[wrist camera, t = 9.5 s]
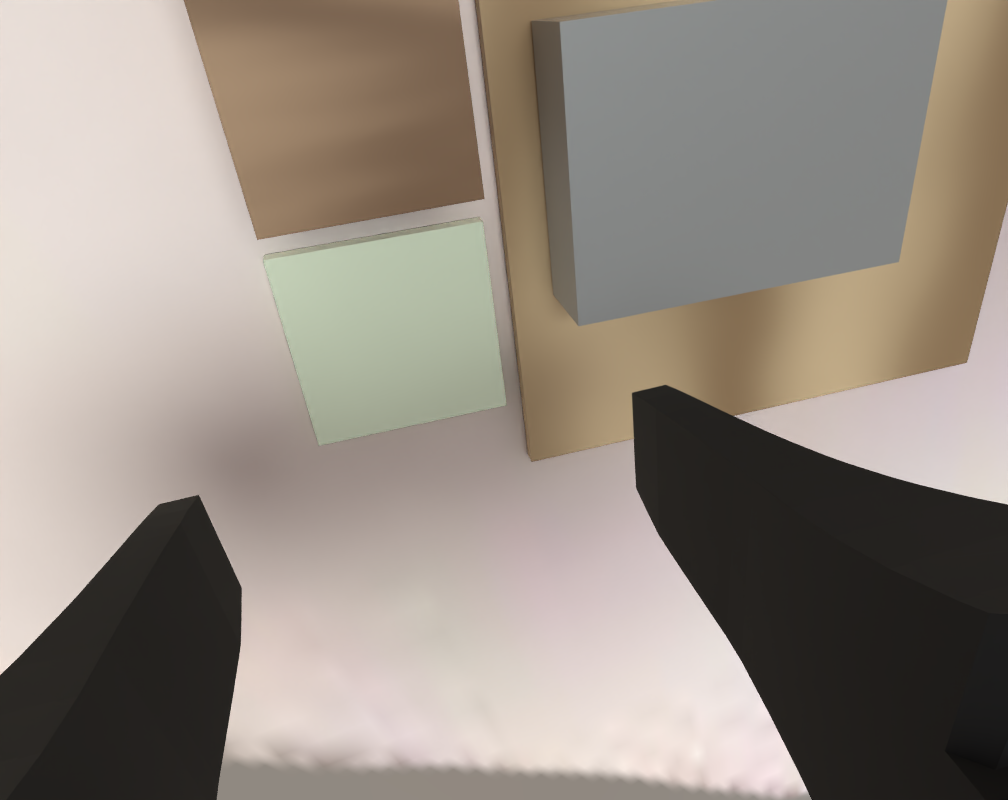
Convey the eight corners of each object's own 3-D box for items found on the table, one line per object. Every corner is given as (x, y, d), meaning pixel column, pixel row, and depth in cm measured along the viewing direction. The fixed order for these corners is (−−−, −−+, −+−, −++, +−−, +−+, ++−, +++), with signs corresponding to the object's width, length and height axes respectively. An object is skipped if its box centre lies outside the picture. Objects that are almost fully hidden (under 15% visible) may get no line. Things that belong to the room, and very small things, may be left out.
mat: (1100, -226, 15) (1117, -231, 15) (956, 357, 22) (966, 362, 22) (456, -160, 13) (460, -165, 13) (528, 454, 20) (531, 461, 20)
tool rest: (479, 216, 16) (482, 221, 16) (503, 398, 19) (506, 405, 19) (264, 255, 16) (263, 260, 15) (318, 437, 18) (318, 445, 18)
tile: (953, -33, 14) (898, 261, 17) (878, -28, 15) (841, 236, 18) (559, 21, 12) (578, 326, 16) (529, 20, 14) (551, 292, 17)
